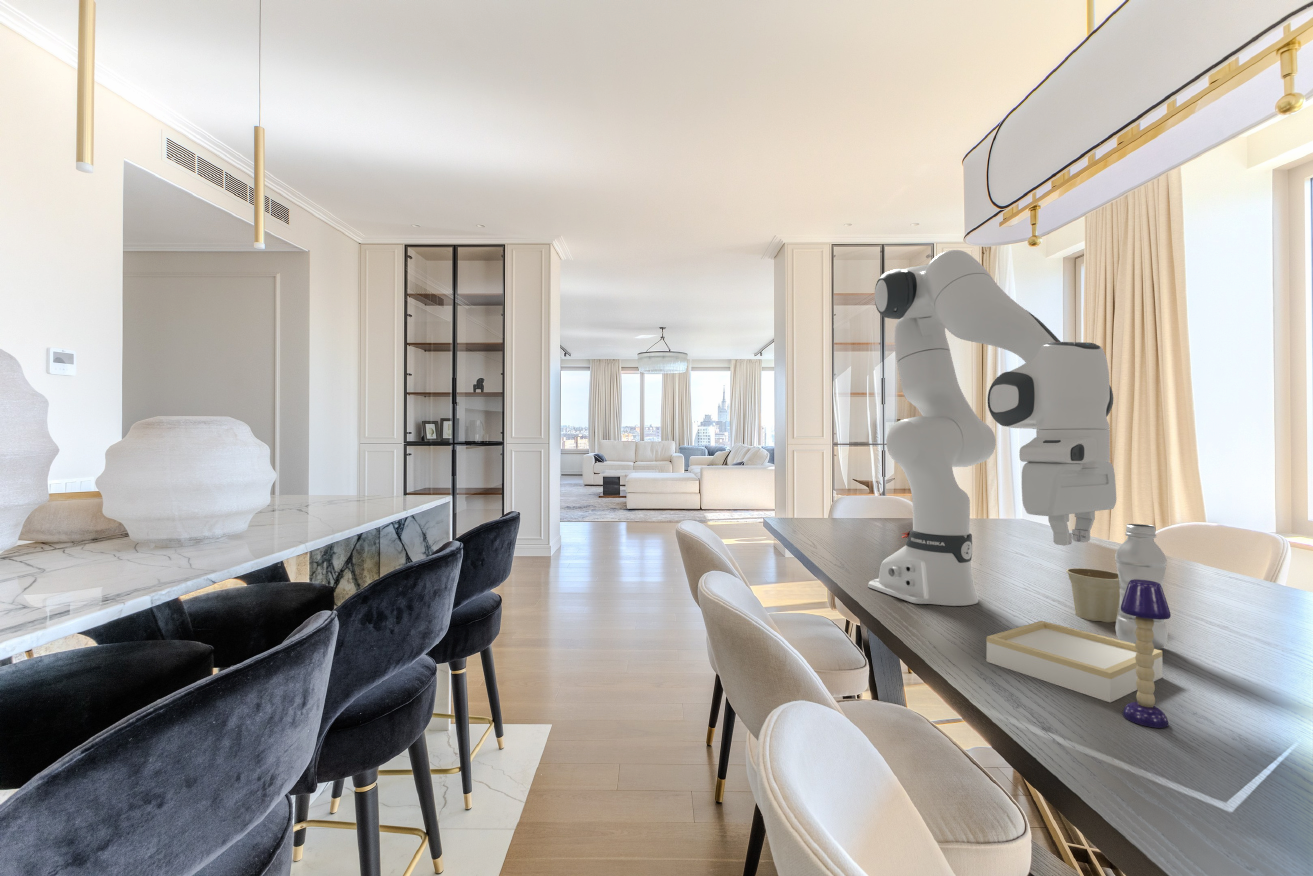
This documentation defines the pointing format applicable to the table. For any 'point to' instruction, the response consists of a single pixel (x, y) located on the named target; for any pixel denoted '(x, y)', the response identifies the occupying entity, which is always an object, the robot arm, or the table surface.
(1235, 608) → the table surface
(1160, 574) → the plastic bottle
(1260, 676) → the table surface
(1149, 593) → the toy lamp
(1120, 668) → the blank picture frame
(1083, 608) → the flower pot
